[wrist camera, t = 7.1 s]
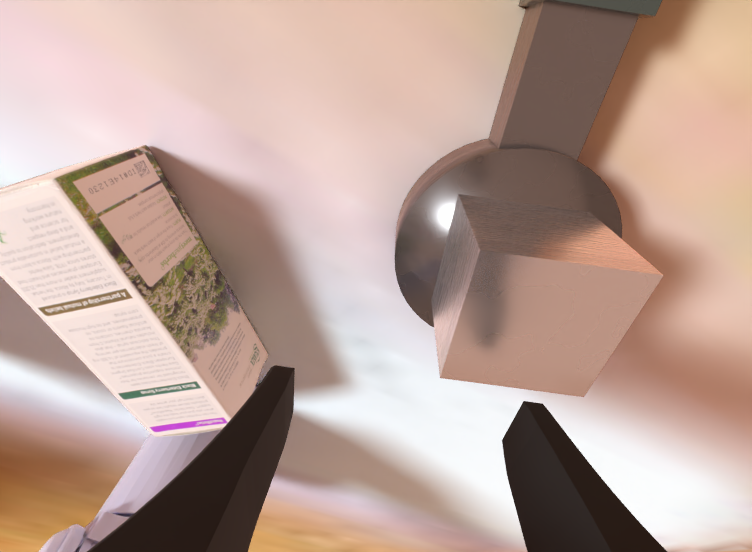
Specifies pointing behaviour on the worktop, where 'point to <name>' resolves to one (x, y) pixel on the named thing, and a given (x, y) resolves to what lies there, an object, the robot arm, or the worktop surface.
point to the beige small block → (534, 295)
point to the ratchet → (526, 134)
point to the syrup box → (131, 290)
